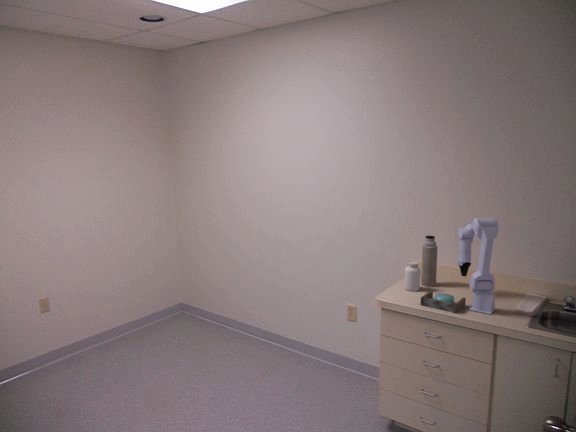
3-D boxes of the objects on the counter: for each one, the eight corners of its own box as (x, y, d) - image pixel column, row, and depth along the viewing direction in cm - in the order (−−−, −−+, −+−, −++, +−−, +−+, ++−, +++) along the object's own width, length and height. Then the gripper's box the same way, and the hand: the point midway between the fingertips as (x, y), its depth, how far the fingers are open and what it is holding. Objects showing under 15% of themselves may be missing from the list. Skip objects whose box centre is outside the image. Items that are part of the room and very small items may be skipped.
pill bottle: (420, 291, 227) (421, 264, 225) (405, 291, 229) (405, 264, 227) (419, 287, 235) (419, 261, 233) (404, 286, 237) (404, 260, 234)
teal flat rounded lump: (454, 302, 211) (455, 295, 210) (452, 308, 203) (452, 300, 203) (436, 299, 215) (436, 292, 215) (432, 305, 207) (433, 297, 207)
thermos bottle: (427, 281, 245) (428, 234, 240) (438, 284, 238) (440, 236, 234) (418, 284, 240) (419, 235, 236) (429, 287, 234) (431, 238, 229)
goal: (465, 305, 206) (465, 297, 206) (456, 313, 197) (457, 305, 196) (430, 298, 217) (430, 290, 217) (420, 305, 208) (420, 297, 207)
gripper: (461, 247, 229) (460, 271, 231) (452, 252, 218) (451, 277, 220) (475, 249, 224) (474, 273, 226) (466, 254, 213) (465, 280, 215)
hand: (464, 275), depth 223 cm, fingers closed
